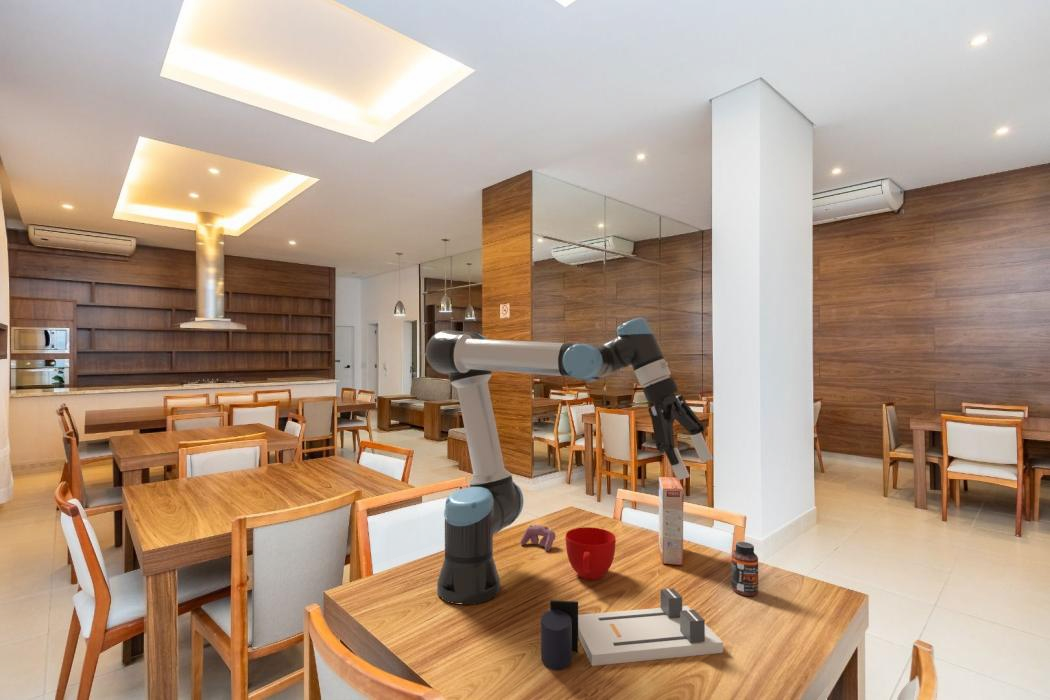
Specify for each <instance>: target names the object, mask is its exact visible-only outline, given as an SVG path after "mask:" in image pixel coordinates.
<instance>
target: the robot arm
mask: <svg viewBox="0 0 1050 700" xmlns="http://www.w3.org/2000/svg"><path fill="white" fill-rule="evenodd" d="M616 332H617V333H616V334H617V336H616V337H614V338H612V339H610V340H607V341H605V342H604V343H602V344H601V343H600V344H590V343H586V342H585V343H583V342H581V343H580V342H579V343H568V342H567V343H566V342H550V341H549V342H547V341H529V340H528V341H527V340H505V339H489V338H487V337H486V336H484V335H482V334H480V333H477V332H473V331H462V330H461V331H459V330H452V329H450V330H449V329H448V330H441V331H439V332H437V333H435V334H433V335H432V336H431V337H430V339H429V340H428V342H427V344H426V348H425V356H426V357H425V358H426V360H427V363H428V365H429V366H430V367H431V368H432V369H433V370H434V371H436V372H438V373H440V374H443V375H448V378H449V382H450V385H452V386H453V387H455V388H456V390H457V396H458V400H459V406H460V411H461V416H462V421H463V426H464V431H465V438H466V444H467V449H468V452H469V458H470V463H471V469H472V474H473V475H472V477H471V479H470V481H469V483H468V484H469V487H465V488H459V489H457V490H455V491H453V492H451V493H450V494H449V495H448V496H447V498H446V499H445V504H444V505H445V507H444V512H443V517H444V560H443V563H442V566H441V569H440V573H439V575H438V579H437V582H436V583H437V584H436V585H437V587H436V593H438V594H437V596H438V595H439V596H440V597H441V598H443V599H444V600H446V601H449V602H453V603H462V604H470V605H475V604H474V603H478V604H482V603H485V602H487V601H489V600H492V599H493V598H495V597H497V596H498V594H499V592H500V589H501V580H500V579H501V578H500V575H499V572H498V569H497V565H496V563H495V560H494V553H493V552H494V550H493V549H494V547H493V546H494V545H493V544H494V540H493V539H494V536H495V535H496V534H497V533H499V532H501V531H502V530H503V529H505V528H506V527H509V526H510V525H511V524H513V523H514V522H515V521H516V519H518V517H520V515H521V513H522V510H523V507H524V496H523V495H524V494H523V492H522V490H521V488H520V486H519V485H517V484H516V482H515V481H513V476H512V473H511V472H510V471H509V470H507V469H506V468H505V465H504V459H503V454H502V449H501V444H500V438H499V433H498V429H497V422H496V418H495V414H494V409H493V404H492V399H491V393H490V388H489V381H490V379H491V377H492V372H504V373H515V374H517V373H518V374H530V375H542V376H543V375H544V376H545V375H546V376H558V377H565V378H566V377H567V378H574V379H578V380H584V381H586V382H587V383H593V382H595V381H598V380H602V379H603V378H605V377H607V376H609V375H611V374H614V373H615V372H618V371H620V370H622V369H625V368H627V367H629V366H631V367H632V369H633V372H634V373H635V376H636V378H637V381H638V382H639V383H638V384H639V385H640V386H641V387H643V388H642V392H643V394H644V396H645V397H644V398H645V399H646V401H647V403H649V404H650V403H653V404H654V405H652V406H650V407H648V413H649V415H650V419H651V424H652V429H653V434H654V435H653V436H654V442H655V447H656V450H657V451H658V452H659V453H665V455H666V458H667V460H668V462H669V464H670V466H671V468H672V471H673V473H674V475H675V478H677V480H679V481H680V480H684V479H688V478H690V476H691V475H690V473H689V471H688V469H687V467H686V464H685V462H684V460H683V457H682V455H681V454H680V453H681V452H680V451H679V448H678V447H675V441H674V439H675V438H674V422H675V420H676V421H677V422H678V423H679V424H680V426H682V427H683V428H684V429H685V430H686V431H687V432H688V433H689V434H690V436H689V438H690V440H691V443H692V445H693V447H694V449H695V452H696V454H697V456H698V458H699V461H700V462H701V463H705V462H708V461H712V460H714V458H713V456H712V453H711V452H710V450H709V449H710V448H709V447H708V444H707V443H706V440H705V438H704V436H703V433H702V432H704V431H705V428H704V424H703V423H702V422H701V420H700V419H699V418H698V417H697V415H696V414H695V412H694V411H693V410H692V409H691V407H690V406H689V403H687V401H686V400H685V397H684V396H683V394H679V395H676V393H678V392H679V387H678V386H677V382H676V381H675V378H674V377H672V376H671V377H670V375H671V374H672V373H671V371H670V367H669V366H668V365H669V363H668V362H667V361H666V360H665V357H664V355H663V353H662V349H661V348H660V346H659V344H658V341H657V339H656V337H655V334H654V332H653V331H652V329H651V327H650V325H649V323H648V321H647V319H646V318H643V317H637V318H633V319H631V320H629V321H626V322H624V323H623V324H621V325H619V326H618V327H617V328H616ZM439 596H438V597H439ZM440 597H439V598H440ZM441 598H440V599H441ZM443 599H442V600H443ZM444 600H443V601H444ZM446 601H445V602H446ZM449 602H448V603H449ZM481 602H482V603H481ZM453 603H452V604H453Z"/></svg>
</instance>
